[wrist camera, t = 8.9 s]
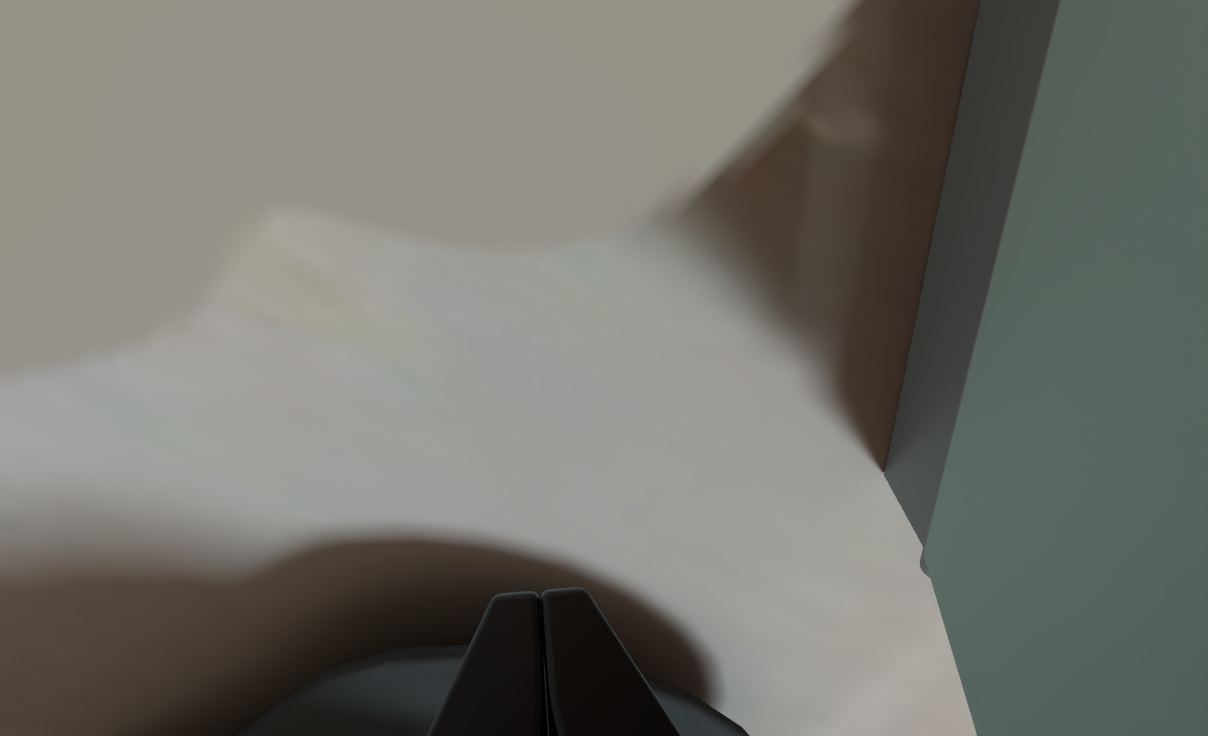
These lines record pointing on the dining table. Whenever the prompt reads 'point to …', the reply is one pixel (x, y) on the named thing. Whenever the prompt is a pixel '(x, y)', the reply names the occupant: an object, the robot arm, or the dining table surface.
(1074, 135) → the cover
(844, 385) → the dining table surface
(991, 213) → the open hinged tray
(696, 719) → the casserole
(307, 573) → the dining table surface
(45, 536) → the dining table surface
